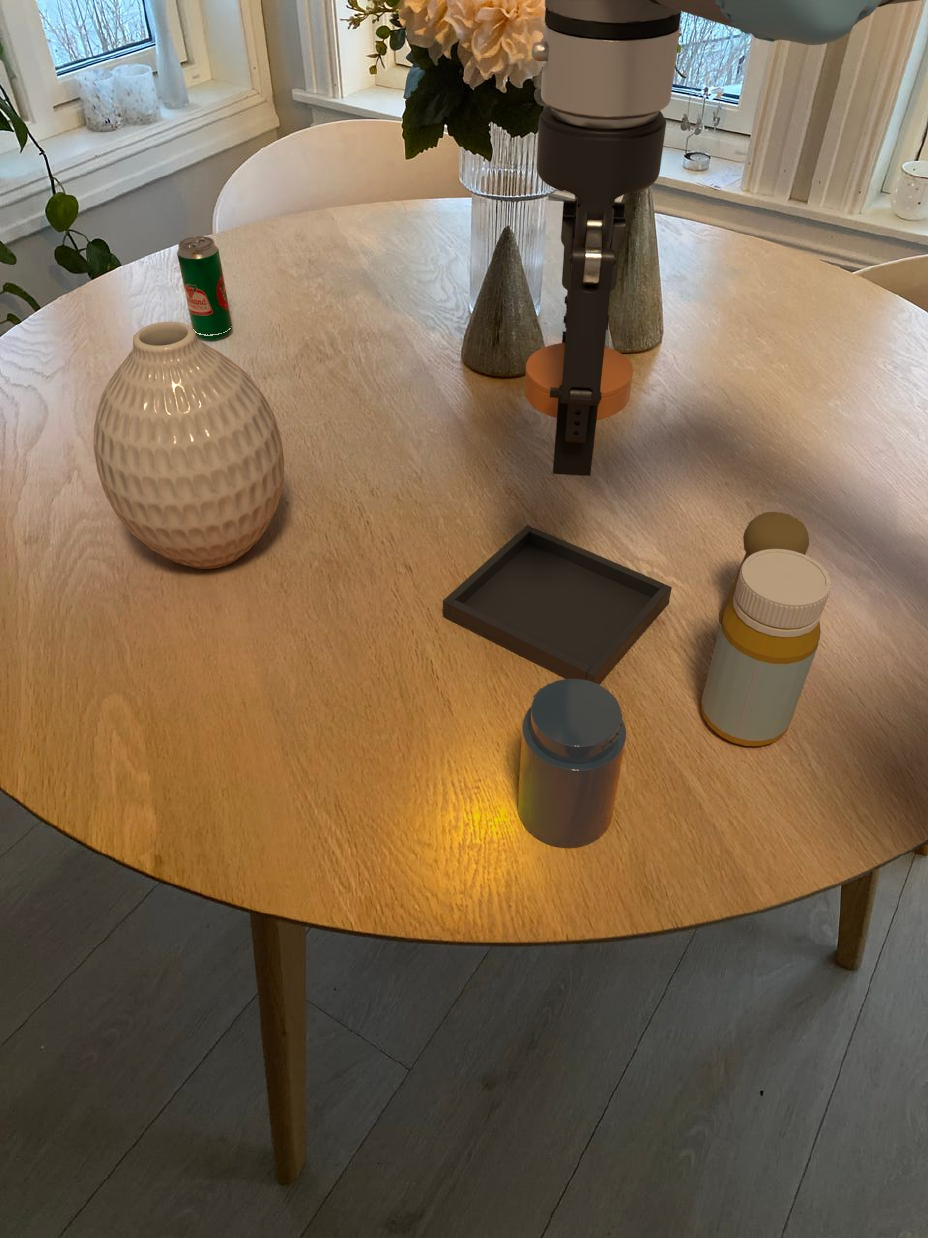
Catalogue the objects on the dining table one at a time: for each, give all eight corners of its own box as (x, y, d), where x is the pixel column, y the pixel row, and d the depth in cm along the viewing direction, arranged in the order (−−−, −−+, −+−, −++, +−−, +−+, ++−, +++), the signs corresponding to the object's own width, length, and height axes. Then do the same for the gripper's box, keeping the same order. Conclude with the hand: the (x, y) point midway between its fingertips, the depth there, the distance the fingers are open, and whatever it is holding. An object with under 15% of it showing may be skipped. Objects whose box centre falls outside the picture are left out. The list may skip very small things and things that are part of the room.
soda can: (186, 335, 125) (166, 244, 117) (214, 321, 128) (196, 231, 120) (213, 346, 123) (195, 254, 115) (241, 331, 126) (225, 240, 118)
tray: (669, 603, 87) (672, 586, 86) (593, 692, 79) (595, 676, 78) (526, 540, 94) (527, 524, 93) (442, 616, 86) (442, 600, 85)
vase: (91, 577, 90) (15, 361, 75) (188, 483, 101) (139, 278, 86) (240, 620, 86) (192, 400, 70) (325, 518, 97) (299, 308, 81)
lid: (503, 399, 69) (504, 373, 67) (559, 357, 73) (560, 331, 72) (596, 433, 65) (598, 406, 64) (648, 387, 70) (652, 360, 68)
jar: (629, 799, 71) (648, 702, 64) (580, 865, 67) (595, 770, 60) (550, 755, 74) (559, 658, 67) (499, 816, 70) (502, 720, 63)
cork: (784, 652, 83) (816, 553, 75) (714, 636, 84) (738, 537, 77) (790, 607, 87) (821, 509, 79) (723, 593, 88) (747, 495, 81)
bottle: (782, 761, 74) (833, 619, 64) (692, 737, 76) (727, 595, 66) (792, 698, 79) (841, 557, 69) (707, 677, 81) (742, 536, 70)
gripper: (546, 60, 64) (530, 370, 80) (530, 165, 49) (514, 520, 65) (660, 64, 63) (621, 375, 79) (677, 170, 49) (625, 527, 64)
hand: (572, 440), depth 72 cm, fingers closed on lid, 7 cm apart
